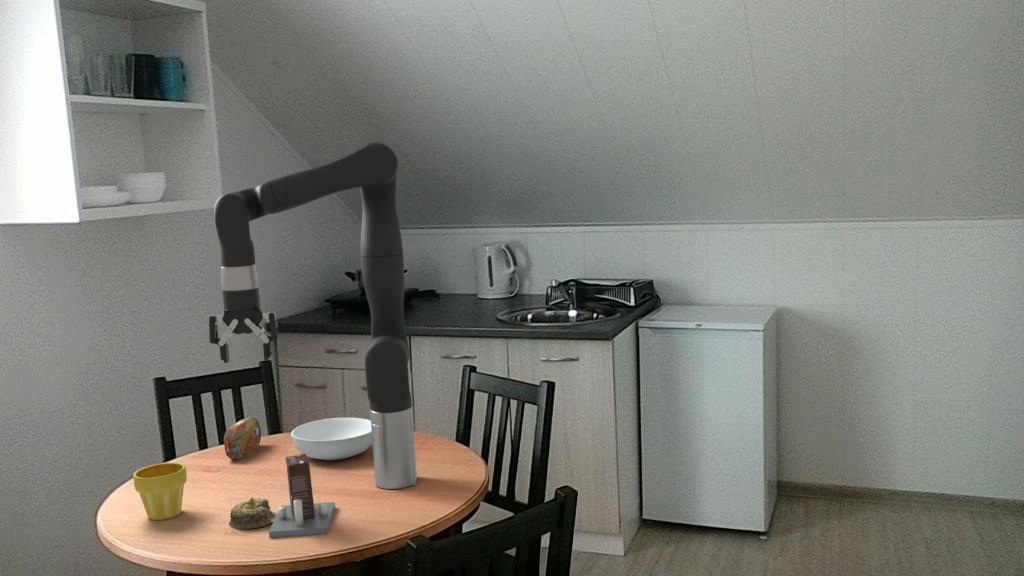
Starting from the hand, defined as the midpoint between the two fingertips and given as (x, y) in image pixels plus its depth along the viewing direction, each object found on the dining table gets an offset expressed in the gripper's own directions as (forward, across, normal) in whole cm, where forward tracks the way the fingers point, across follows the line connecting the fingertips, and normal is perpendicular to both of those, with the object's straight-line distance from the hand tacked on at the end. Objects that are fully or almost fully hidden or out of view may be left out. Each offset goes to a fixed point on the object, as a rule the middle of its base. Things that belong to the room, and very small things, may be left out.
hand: (246, 361), depth 201 cm
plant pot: (+30, +18, +8) cm, 36 cm away
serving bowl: (+30, -14, -26) cm, 42 cm away
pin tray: (+30, -12, +18) cm, 37 cm away
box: (+29, -12, +18) cm, 36 cm away
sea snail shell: (+31, -2, +15) cm, 34 cm away
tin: (+30, +10, -32) cm, 45 cm away
